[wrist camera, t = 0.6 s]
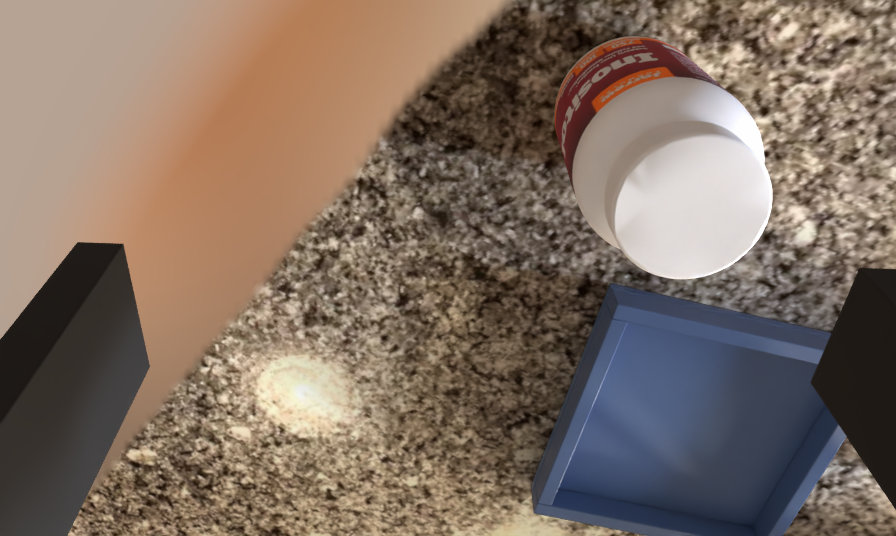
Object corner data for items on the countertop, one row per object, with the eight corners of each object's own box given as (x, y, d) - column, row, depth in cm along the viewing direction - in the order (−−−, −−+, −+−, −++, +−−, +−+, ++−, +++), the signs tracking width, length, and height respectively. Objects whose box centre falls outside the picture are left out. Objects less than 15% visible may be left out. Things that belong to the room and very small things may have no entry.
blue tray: (609, 282, 35) (617, 304, 33) (871, 341, 36) (893, 366, 34) (530, 485, 41) (533, 513, 39) (754, 530, 42) (768, 559, 40)
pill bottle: (618, 0, 29) (693, 57, 19) (729, 91, 30) (850, 187, 21) (521, 123, 31) (543, 229, 21) (628, 202, 33) (694, 334, 23)
